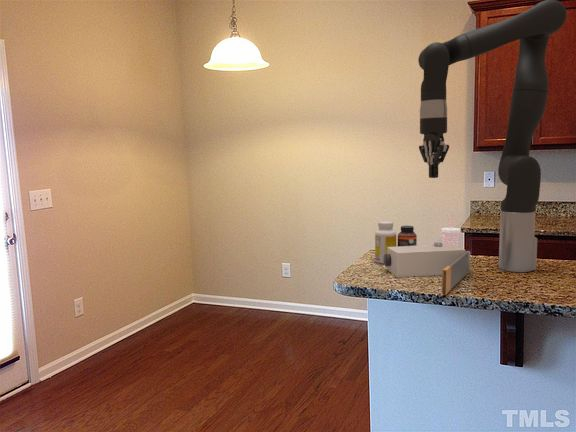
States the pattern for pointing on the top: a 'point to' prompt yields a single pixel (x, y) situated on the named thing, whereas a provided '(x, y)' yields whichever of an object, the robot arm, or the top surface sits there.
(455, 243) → the beverage cup
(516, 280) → the top surface
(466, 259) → the side door
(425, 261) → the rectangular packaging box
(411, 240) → the supplement bottle
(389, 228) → the supplement bottle
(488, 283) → the top surface
